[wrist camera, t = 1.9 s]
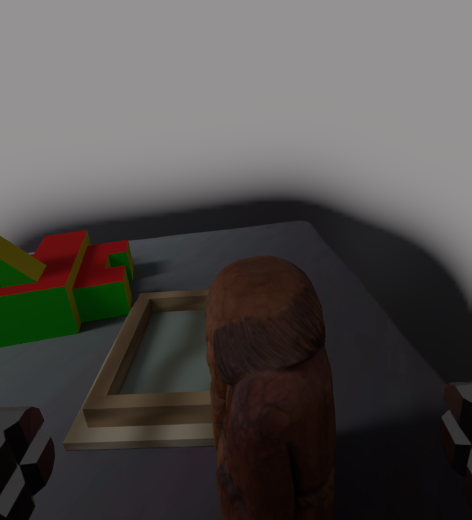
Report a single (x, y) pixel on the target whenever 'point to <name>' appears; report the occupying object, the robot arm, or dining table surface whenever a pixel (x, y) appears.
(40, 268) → the building blocks toy
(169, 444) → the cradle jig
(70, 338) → the dining table surface
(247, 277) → the wooden figurine
